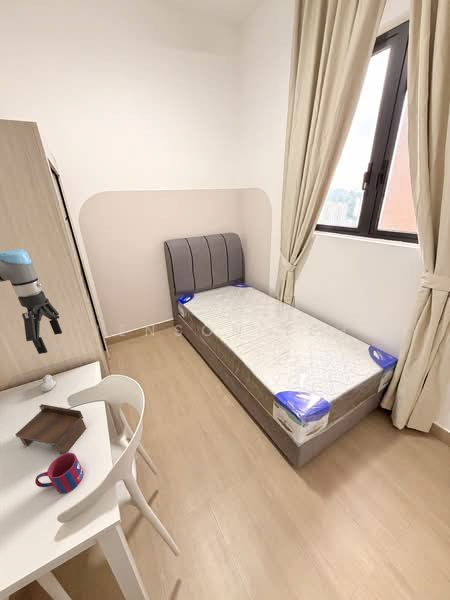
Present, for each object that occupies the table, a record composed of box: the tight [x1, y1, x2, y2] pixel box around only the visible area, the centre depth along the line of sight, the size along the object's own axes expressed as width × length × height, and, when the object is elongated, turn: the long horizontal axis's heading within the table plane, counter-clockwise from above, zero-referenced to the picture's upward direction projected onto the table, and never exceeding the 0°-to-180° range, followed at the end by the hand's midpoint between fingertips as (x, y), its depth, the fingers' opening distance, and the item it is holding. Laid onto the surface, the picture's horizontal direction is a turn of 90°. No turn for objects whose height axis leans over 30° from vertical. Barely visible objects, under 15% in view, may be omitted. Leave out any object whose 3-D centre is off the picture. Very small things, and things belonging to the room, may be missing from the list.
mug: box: [34, 452, 84, 494], centre depth 65 cm, size 7×10×7 cm
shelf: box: [14, 403, 88, 455], centre depth 77 cm, size 16×10×8 cm, turn 77°
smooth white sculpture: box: [39, 374, 57, 392], centre depth 100 cm, size 4×8×5 cm
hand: (51, 342), depth 94 cm, fingers open, 13 cm apart
